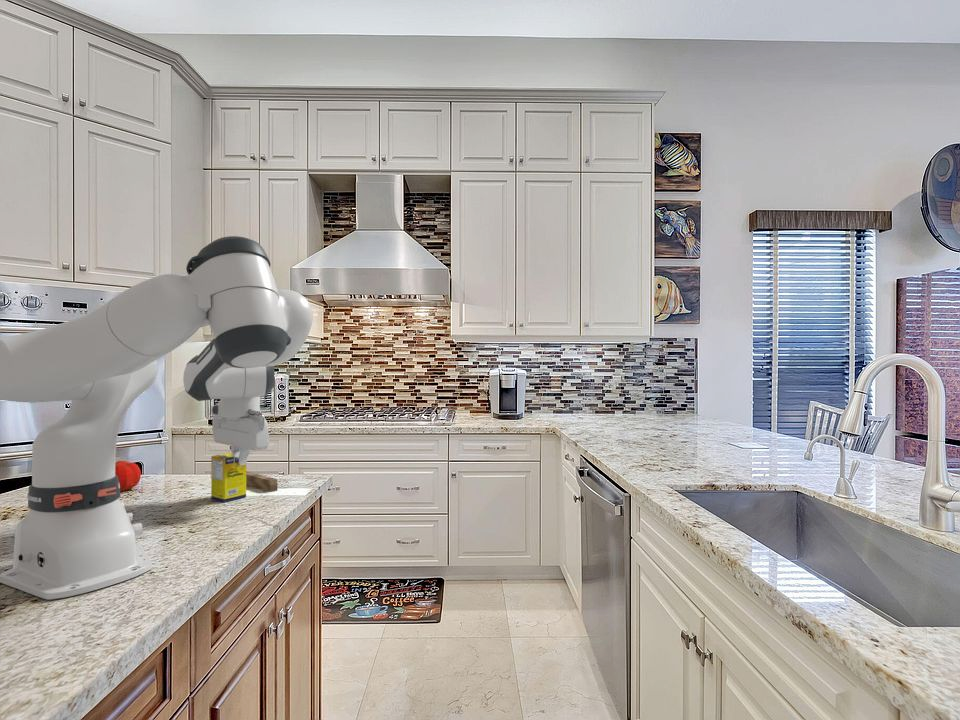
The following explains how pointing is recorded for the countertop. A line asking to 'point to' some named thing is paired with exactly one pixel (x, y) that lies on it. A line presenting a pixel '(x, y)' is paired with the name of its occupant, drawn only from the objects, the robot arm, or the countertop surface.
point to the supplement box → (227, 478)
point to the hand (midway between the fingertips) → (240, 464)
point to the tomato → (127, 474)
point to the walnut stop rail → (261, 482)
